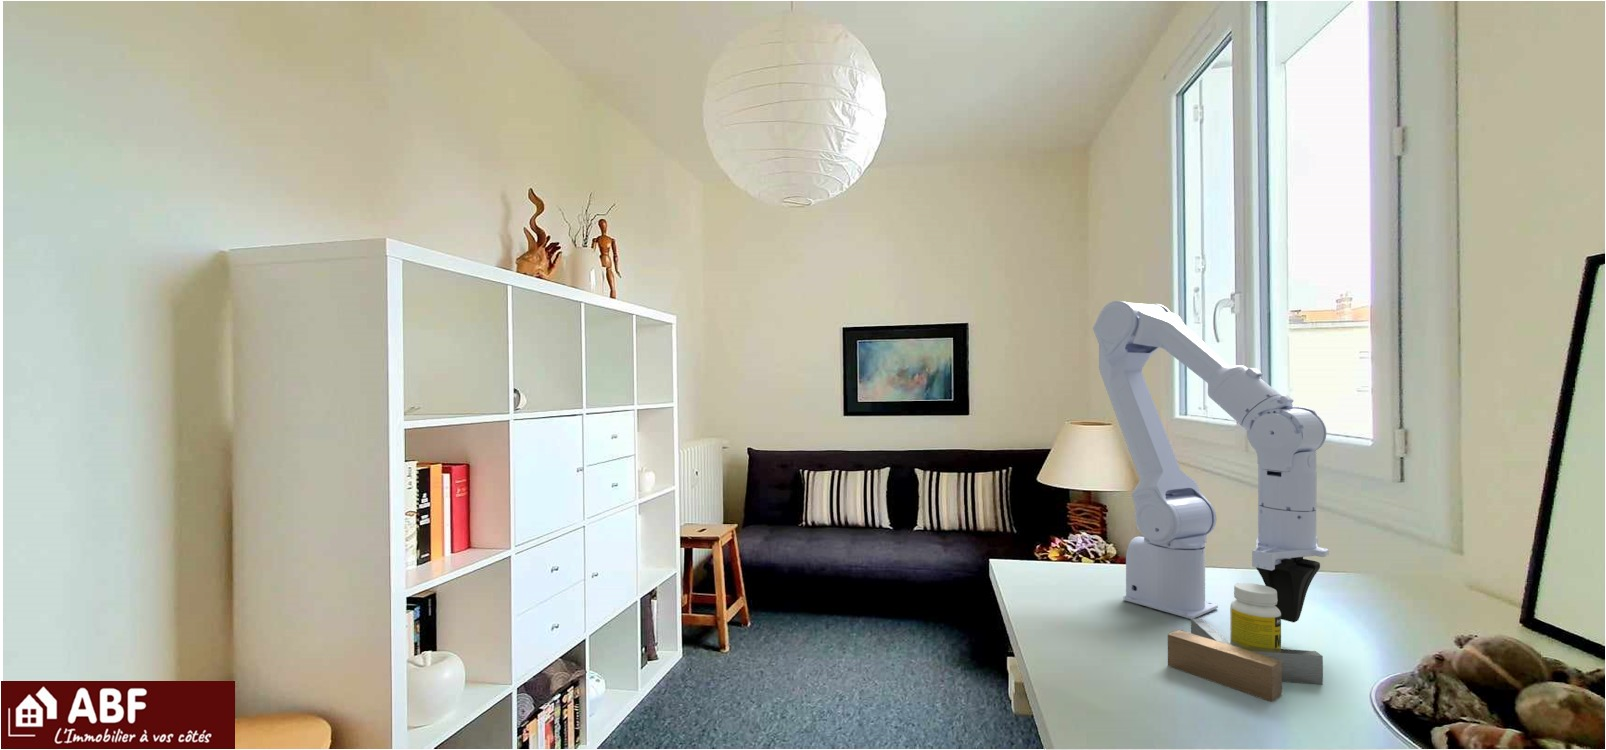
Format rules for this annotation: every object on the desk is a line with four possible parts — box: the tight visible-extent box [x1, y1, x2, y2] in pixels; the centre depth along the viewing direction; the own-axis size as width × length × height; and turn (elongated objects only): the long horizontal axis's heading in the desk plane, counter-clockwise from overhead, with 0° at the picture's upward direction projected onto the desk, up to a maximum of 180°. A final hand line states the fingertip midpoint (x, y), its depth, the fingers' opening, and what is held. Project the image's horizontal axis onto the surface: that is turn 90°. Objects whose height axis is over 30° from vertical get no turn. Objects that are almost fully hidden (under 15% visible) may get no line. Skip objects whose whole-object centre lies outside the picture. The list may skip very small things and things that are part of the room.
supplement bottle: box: [1229, 582, 1282, 649], centre depth 74 cm, size 5×5×8 cm
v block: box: [1167, 618, 1324, 703], centre depth 71 cm, size 13×10×4 cm
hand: (1286, 619), depth 79 cm, fingers closed
